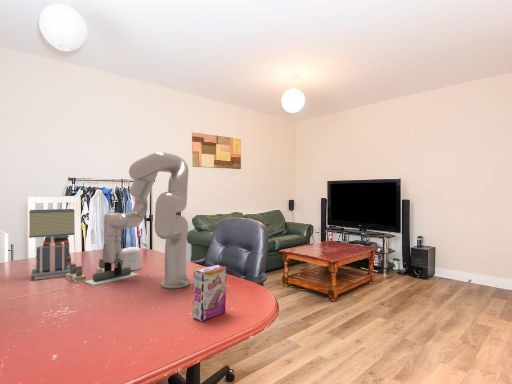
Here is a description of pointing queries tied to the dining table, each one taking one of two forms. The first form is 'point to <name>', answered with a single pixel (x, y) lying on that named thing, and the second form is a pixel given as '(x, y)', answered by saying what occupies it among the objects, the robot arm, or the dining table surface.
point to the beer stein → (58, 241)
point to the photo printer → (131, 258)
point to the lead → (110, 274)
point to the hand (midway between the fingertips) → (112, 273)
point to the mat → (91, 282)
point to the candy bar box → (209, 292)
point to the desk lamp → (52, 256)
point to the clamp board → (77, 279)
